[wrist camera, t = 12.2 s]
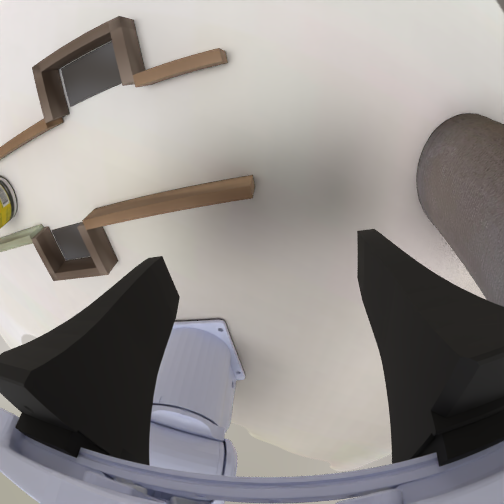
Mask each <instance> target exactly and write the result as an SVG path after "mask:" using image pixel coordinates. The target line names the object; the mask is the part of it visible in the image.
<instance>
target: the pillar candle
mask: <svg viewBox="0 0 504 504" xmlns="http://www.w3.org/2000/svg"><path fill="white" fill-rule="evenodd" d="M417 190H418V196H419V200H420V203H421V205H422V208H423V210H424V212H425V213H426V215H427V216H428V218H429V219H430V221H431V222H432V223H433V224H434V225H435V226H436V228H437V229H438V230H439V231H440V233H441V234H442V236H443V237H444V238H445V240H446V241H447V242H448V244H449V245H450V246H451V248H452V249H453V251H454V252H455V253H456V255H457V256H458V257H459V259H460V260H461V262H462V263H463V264H464V266H465V267H466V269H467V270H468V272H469V273H470V275H471V276H472V278H473V279H474V281H475V282H476V284H477V285H478V287H479V288H480V290H481V291H482V293H483V294H484V296H485V297H486V299H487V300H488V301H490V302H493V303H495V304H498V305H501V306H503V307H504V124H501V123H499V122H496V121H493V120H491V119H489V118H487V117H484V116H481V115H479V114H461V115H457V116H455V117H452V118H450V119H449V120H447V121H445V122H444V123H442V124H441V125H440V126H439V127H438V128H437V129H436V130H435V131H434V132H433V133H432V135H431V136H430V138H429V140H428V141H427V143H426V145H425V147H424V149H423V152H422V154H421V157H420V161H419V165H418V172H417Z"/></svg>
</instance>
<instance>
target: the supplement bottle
mask: <svg viewBox="0 0 504 504" xmlns="http://www.w3.org/2000/svg"><path fill="white" fill-rule="evenodd" d="M16 208H17V205H16V198H15V194H14V191H13V189H12V187H11V186H10V184H9V183H8V182H7V181H6V180H5V179H4V178H2V177H0V228H1V227H3V226H4V225H5V224H6V223H7V222H8V221H9V220H11V219H12V218H13V217H14V215H15V213H16Z"/></svg>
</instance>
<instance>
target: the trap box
mask: <svg viewBox="0 0 504 504" xmlns="http://www.w3.org/2000/svg"><path fill="white" fill-rule="evenodd" d="M109 41H112V42H110V43H108V44H106V45H104V46H102V47H100V48H98V49H96V50H94V51H92V52H90V51H91V50H93V49H95V48H97V47H99V46H101V45H103V44H105V43H107V42H109ZM88 52H90V53H88ZM86 53H88V54H86ZM84 54H86V55H85V56H83V57H81V58H79V57H80V56H82V55H84ZM77 58H79V59H77ZM75 59H77V60H76V61H74V62H72V61H73V60H75ZM70 62H72V63H70ZM68 63H70V64H69V65H67V66H65V65H66V64H68ZM225 63H228V62H227V57H226V53H225V51H224V50H222V49H220V48H218V49H213V50H209V51H206V52H202V53H198V54H195V55H191V56H188V57H184V58H181V59H178V60H174V61H171V62H168V63H165V64H162V65H159V66H156V67H153V68H151V69H148V70H145V68H144V63H143V59H142V55H141V51H140V47H139V42H138V38H137V33H136V29H135V24H134V20H132V19H128V18H125V17H121V16H118V17H116V18H114V19H112V20H110V21H108V22H106V23H104V24H102V25H100V26H98V27H96V28H94V29H92V30H90V31H89V32H87V33H85V34H83V35H81V36H80V37H78V38H76V39H75V40H73V41H71V42H70V43H68V44H66V45H65V46H63V47H61V48H60V49H58V50H57V51H55V52H54V53H52V54H51V55H49V56H48V57H46V58H45V59H43V60H42V61H40V62H39V63H38V64H36V65H35V66H33V67H32V70H33V74H34V79H35V84H36V88H37V92H38V96H39V100H40V104H41V108H42V112H43V115H44V119H42V120H41V121H39V122H37V123H36V124H34V125H33V126H31V127H29V128H28V129H26V130H25V131H23V132H22V133H20V134H19V135H17V136H16V137H14V138H13V139H11V140H10V141H8V142H7V143H6V144H4V145H3V146H1V147H0V160H1V159H2V158H4V157H5V156H7V155H8V154H10V153H11V152H13V151H14V150H16V149H18V148H19V147H21V146H22V145H24V144H26V143H27V142H29V141H31V140H32V139H34V138H36V137H37V136H39V135H41V134H43V133H44V132H46V131H48V130H50V129H52V128H53V127H55V126H57V125H59V124H61V123H63V119H62V117H64V116H66V115H68V114H69V110H68V107H67V103H66V99H65V95H64V92H63V87H62V83H61V79H60V75H59V70H58V69H60V68H61V67H63V66H65V67H64V68H62V69H61V71H62V75H63V79H64V84H65V88H66V92H67V96H68V99H69V103H70V107H71V106H73V105H75V104H77V103H79V102H81V101H83V100H85V99H87V98H89V97H91V96H94V95H96V94H98V93H100V92H102V91H104V90H107V89H109V88H111V87H114V86H116V85H118V84H121V83H122V85H123V86H125V85H132V84H135V87H141V86H148V85H151V84H154V83H157V82H160V81H163V80H166V79H169V78H173V77H176V76H179V75H183V74H186V73H190V72H193V71H197V70H201V69H204V68H208V67H212V66H216V65H221V64H225ZM254 188H255V184H254V180H253V175H250V176H244V177H238V178H232V179H227V180H221V181H216V182H210V183H205V184H200V185H195V186H190V187H185V188H180V189H175V190H171V191H166V192H161V193H157V194H153V195H148V196H144V197H140V198H135V199H131V200H127V201H123V202H119V203H115V204H111V205H107V206H104V207H100V208H96V209H94V210H93V211H92V212H91V213H90V214H89V215H88V216H87V217H86V218H85V219H84V220H82V221H83V222H81V223H77V224H74V225H70V226H66V227H62V228H59V229H55V230H52V233H53V235H54V237H55V239H56V241H57V243H58V245H59V247H60V249H61V251H62V253H63V255H64V257H65V259H66V260H67V261H65V259H64V257H63V255H62V253H61V251H60V249H59V247H58V245H57V243H56V241H55V239H54V237H53V235H52V233H51V231H50V229H49V227H45V228H43V226H42V224H41V225H38V226H35V227H32V228H29V229H26V230H23V231H20V232H17V233H14V234H11V235H8V236H5V237H2V238H0V252H3V251H6V250H10V249H13V248H17V247H21V246H24V245H28V244H32V243H33V244H34V246H35V248H36V250H37V252H38V254H39V256H40V257H41V259H42V261H43V263H44V265H45V267H46V268H47V270H48V272H49V274H50V275H51V277H52V279H53V281H57V280H66V279H75V278H84V277H93V276H101V275H108V274H109V273H110V271H111V270H112V268H113V267H114V266H115V264H116V263H117V261H118V260H117V257H116V255H115V253H114V251H113V249H112V247H111V245H110V242H109V240H108V238H107V236H106V233H105V231H104V229H103V227H102V226H106V225H110V224H115V223H120V222H124V221H129V220H134V219H139V218H144V217H149V216H154V215H159V214H164V213H169V212H174V211H180V210H185V209H191V208H196V207H202V206H208V205H213V204H219V203H225V202H231V201H238V200H244V199H251V198H253V194H254ZM88 256H91V257H88ZM82 257H85V258H82ZM76 258H79V259H76ZM70 259H73V260H70Z"/></svg>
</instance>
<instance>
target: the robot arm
mask: <svg viewBox="0 0 504 504" xmlns="http://www.w3.org/2000/svg"><path fill="white" fill-rule="evenodd" d="M357 233H358V282H359V287H360V291H361V296H362V300H363V304H364V307H365V309H366V312H367V315H368V318H369V321H370V324H371V327H372V330H373V333H374V336H375V339H376V342H377V345H378V349H379V352H380V356H381V360H382V365H383V370H384V376H385V382H386V389H387V396H388V404H389V413H390V424H391V440H392V464H389V465H385V466H379V467H374V468H368V469H363V470H357V471H350V472H342V473H335V474H324V475H313V476H297V477H238V476H237V477H236V476H235V475H236V470H237V452H236V449H235V447H234V446H233V443H232V442H231V440H229V439H224V435H225V433H226V431H227V430H228V428H229V426H230V423H231V416H232V408H233V401H234V393H235V386H236V380H243V379H245V373H244V370H243V368H242V365H241V363H240V360H239V358H238V355H237V353H236V350H235V347H234V345H233V342H232V340H231V337H230V334H229V332H228V329H227V326H226V324H225V322H224V321H223V320H203V321H184V322H175V319H176V314H177V309H178V303H179V294H178V292H177V290H176V288H175V285H174V283H173V281H172V278H171V276H170V274H169V271H168V269H167V267H166V264H165V262H164V259H163V257H162V256H160V257H153V258H148V259H146V260H145V261H143V262H142V263H141V264H139V265H138V266H137V267H135V268H134V269H133V270H132V271H130V272H129V273H128V274H127V275H126V276H124V277H123V278H122V279H121V280H120V281H118V282H117V283H116V284H115V285H114V286H113V287H111V288H110V289H109V290H108V291H106V292H105V293H104V294H103V295H102V296H100V297H99V298H98V299H97V300H95V301H94V302H93V303H92V304H90V305H89V306H88V307H86V308H85V309H84V310H82V311H81V312H80V313H78V314H77V315H75V316H74V317H72V318H71V319H69V320H68V321H66V322H65V323H63V324H61V325H60V326H58V327H56V328H55V329H53V330H51V331H50V332H48V333H46V334H44V335H42V336H40V337H38V338H36V339H34V340H32V341H30V342H28V343H26V344H23V345H21V346H18V347H16V348H13V349H11V350H8V351H6V352H3V353H2V354H1V355H0V393H1V394H2V395H3V396H4V397H5V398H6V399H8V400H9V401H10V402H11V403H12V404H13V405H14V406H15V407H16V408H18V410H20V411H21V412H22V414H21V416H20V418H19V417H17V416H16V415H14V414H13V413H10V412H8V411H6V410H5V409H3V408H0V471H1V472H2V473H3V474H4V475H5V476H6V477H7V478H8V479H10V480H11V481H12V482H13V483H14V484H16V485H17V486H18V487H19V488H20V489H22V490H23V491H24V492H25V493H27V494H28V495H29V496H31V497H32V498H33V499H35V500H36V501H37V502H39V503H40V504H224V502H225V501H231V502H246V503H301V502H302V503H303V502H318V501H329V500H337V499H346V498H353V497H357V498H353V499H348V500H343V501H339V502H337V503H336V504H504V307H503V306H501V305H498V304H495V303H493V302H490V301H488V300H485V299H483V298H481V297H478V296H476V295H474V294H472V293H470V292H468V291H466V290H464V289H462V288H460V287H458V286H456V285H454V284H452V283H451V282H449V281H447V280H445V279H444V278H442V277H440V276H438V275H437V274H435V273H434V272H432V271H431V270H429V269H428V268H426V267H425V266H423V265H422V264H420V263H419V262H417V261H416V260H415V259H413V258H412V257H410V256H409V255H408V254H406V253H405V252H404V251H402V250H401V249H400V248H398V247H397V246H396V245H395V244H393V243H392V242H391V241H389V240H388V239H387V238H386V237H384V236H383V235H382V234H380V233H379V232H378V231H376V230H375V229H370V230H362V231H357ZM221 328H222V329H221ZM360 496H361V497H360Z"/></svg>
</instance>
